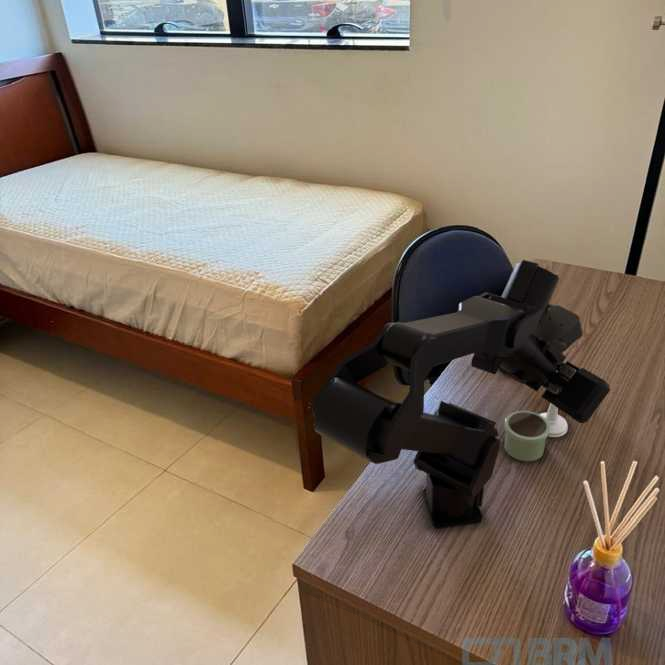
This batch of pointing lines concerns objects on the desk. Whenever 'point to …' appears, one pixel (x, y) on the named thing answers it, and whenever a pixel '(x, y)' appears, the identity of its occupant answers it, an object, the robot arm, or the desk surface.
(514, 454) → the pot
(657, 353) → the desk surface
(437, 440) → the robot arm
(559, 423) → the chess piece
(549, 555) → the desk surface
